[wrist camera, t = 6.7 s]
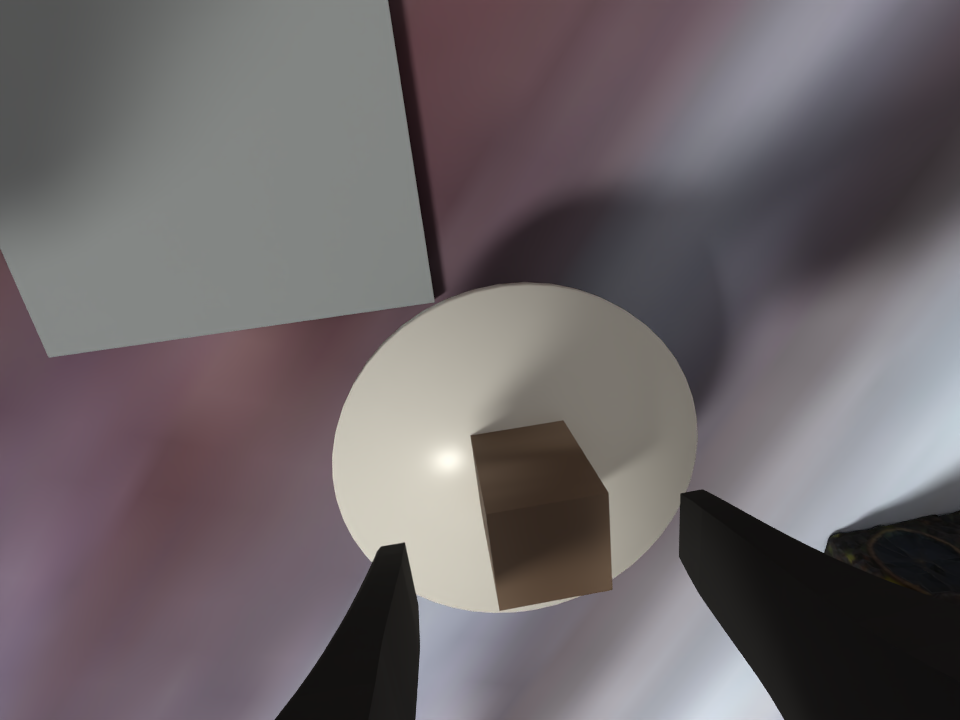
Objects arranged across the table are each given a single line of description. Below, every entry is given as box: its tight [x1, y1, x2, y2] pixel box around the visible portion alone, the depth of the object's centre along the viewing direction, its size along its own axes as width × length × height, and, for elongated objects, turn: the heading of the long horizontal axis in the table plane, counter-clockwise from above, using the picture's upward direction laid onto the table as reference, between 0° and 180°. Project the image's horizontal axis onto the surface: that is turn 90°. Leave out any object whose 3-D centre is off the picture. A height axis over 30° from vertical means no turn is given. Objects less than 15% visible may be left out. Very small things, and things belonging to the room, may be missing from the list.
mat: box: [0, 0, 435, 357], centre depth 16 cm, size 14×14×1 cm
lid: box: [332, 282, 698, 613], centre depth 14 cm, size 12×12×5 cm
